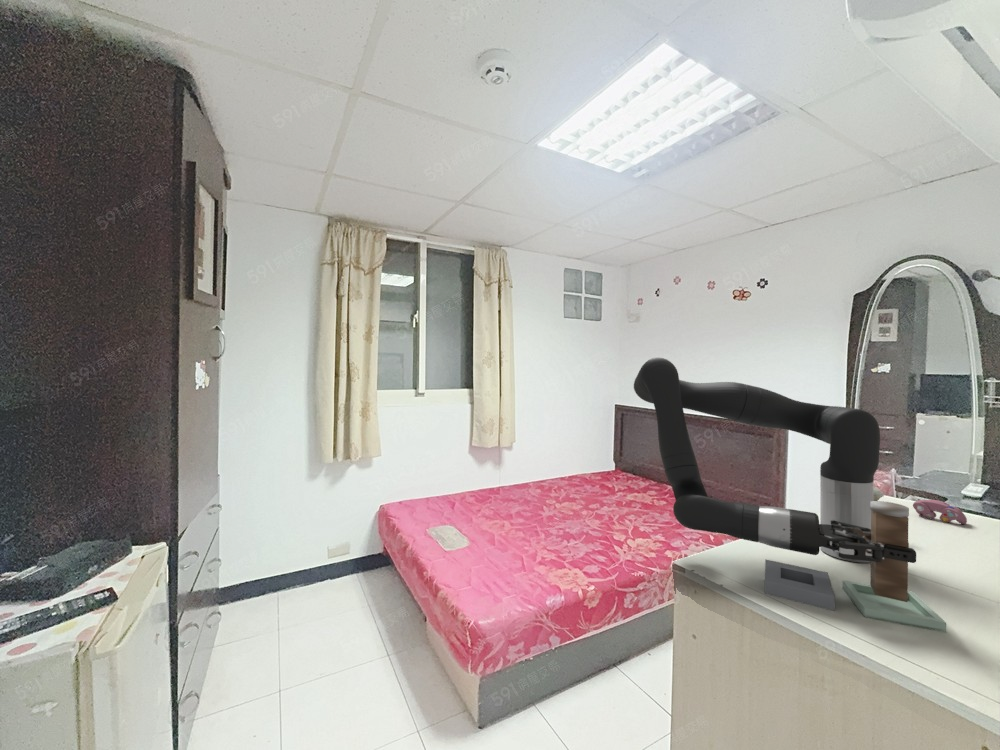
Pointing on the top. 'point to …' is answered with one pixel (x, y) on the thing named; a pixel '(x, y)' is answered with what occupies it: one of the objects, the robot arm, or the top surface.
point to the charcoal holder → (799, 584)
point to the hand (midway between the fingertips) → (910, 550)
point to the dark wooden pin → (892, 530)
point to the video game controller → (939, 510)
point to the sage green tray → (893, 608)
